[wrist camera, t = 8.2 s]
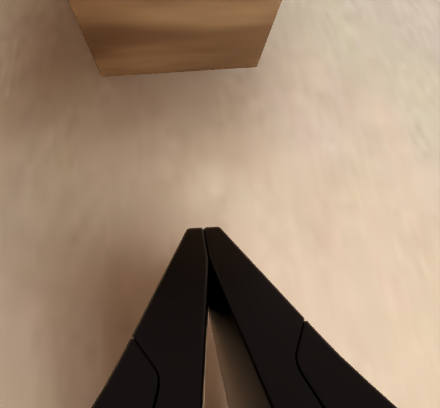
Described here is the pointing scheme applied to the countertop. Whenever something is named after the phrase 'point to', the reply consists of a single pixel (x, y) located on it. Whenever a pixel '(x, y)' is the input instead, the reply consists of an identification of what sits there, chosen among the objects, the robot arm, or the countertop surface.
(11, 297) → the countertop surface
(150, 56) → the recipe box
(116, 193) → the countertop surface
